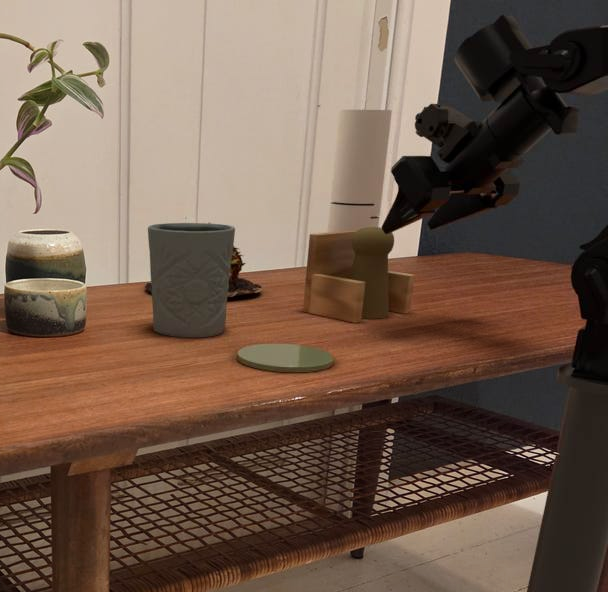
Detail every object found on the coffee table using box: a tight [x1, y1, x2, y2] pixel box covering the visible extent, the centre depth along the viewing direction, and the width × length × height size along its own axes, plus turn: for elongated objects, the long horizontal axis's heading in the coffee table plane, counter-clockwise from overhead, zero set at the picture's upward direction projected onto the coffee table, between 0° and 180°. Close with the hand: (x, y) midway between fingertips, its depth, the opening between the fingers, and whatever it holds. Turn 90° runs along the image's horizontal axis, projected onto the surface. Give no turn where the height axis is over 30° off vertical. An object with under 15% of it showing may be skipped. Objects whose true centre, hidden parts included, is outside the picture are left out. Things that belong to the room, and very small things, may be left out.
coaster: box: [236, 343, 335, 374], centre depth 93 cm, size 10×10×1 cm
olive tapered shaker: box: [349, 226, 395, 320], centre depth 114 cm, size 6×6×11 cm
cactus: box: [144, 221, 263, 298], centre depth 128 cm, size 17×16×10 cm
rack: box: [302, 230, 416, 324], centre depth 115 cm, size 9×11×10 cm
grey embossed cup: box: [147, 222, 236, 338], centre depth 104 cm, size 10×10×12 cm
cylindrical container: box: [327, 109, 393, 232], centre depth 128 cm, size 7×7×25 cm
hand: (407, 228), depth 108 cm, fingers open, 9 cm apart
